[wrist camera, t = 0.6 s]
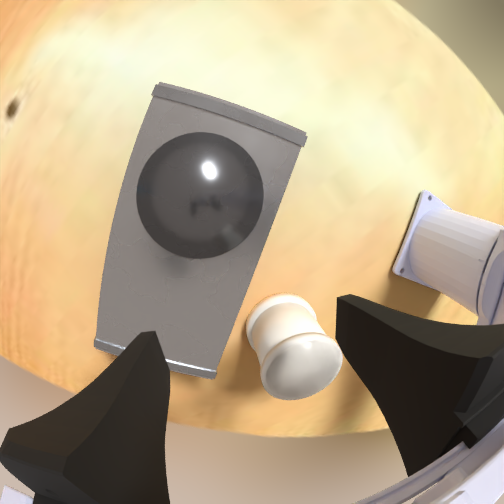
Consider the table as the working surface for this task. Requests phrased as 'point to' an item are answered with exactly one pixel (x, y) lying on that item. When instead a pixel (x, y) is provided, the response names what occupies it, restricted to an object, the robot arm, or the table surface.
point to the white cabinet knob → (291, 347)
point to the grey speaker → (192, 225)
